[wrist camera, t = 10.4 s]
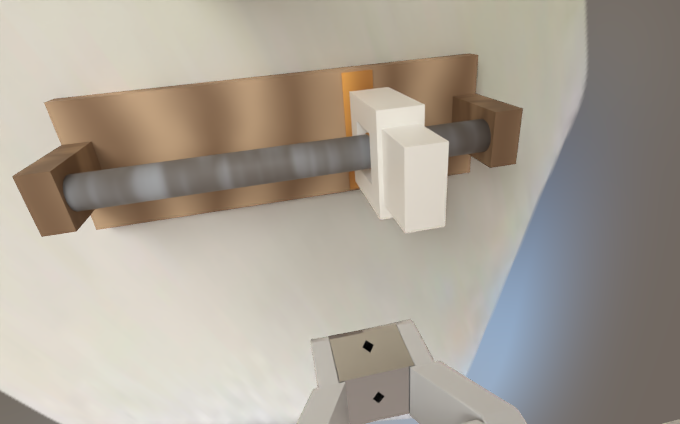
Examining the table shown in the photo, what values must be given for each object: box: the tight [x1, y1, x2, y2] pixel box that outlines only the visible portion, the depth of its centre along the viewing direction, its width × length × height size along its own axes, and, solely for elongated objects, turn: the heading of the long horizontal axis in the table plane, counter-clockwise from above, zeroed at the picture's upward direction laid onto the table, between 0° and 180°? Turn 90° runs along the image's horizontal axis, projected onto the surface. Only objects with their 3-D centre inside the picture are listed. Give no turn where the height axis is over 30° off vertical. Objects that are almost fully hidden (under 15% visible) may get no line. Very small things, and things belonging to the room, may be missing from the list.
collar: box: [349, 87, 449, 233], centre depth 26 cm, size 3×7×11 cm, turn 5°
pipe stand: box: [12, 54, 523, 237], centre depth 29 cm, size 32×10×8 cm, turn 94°
